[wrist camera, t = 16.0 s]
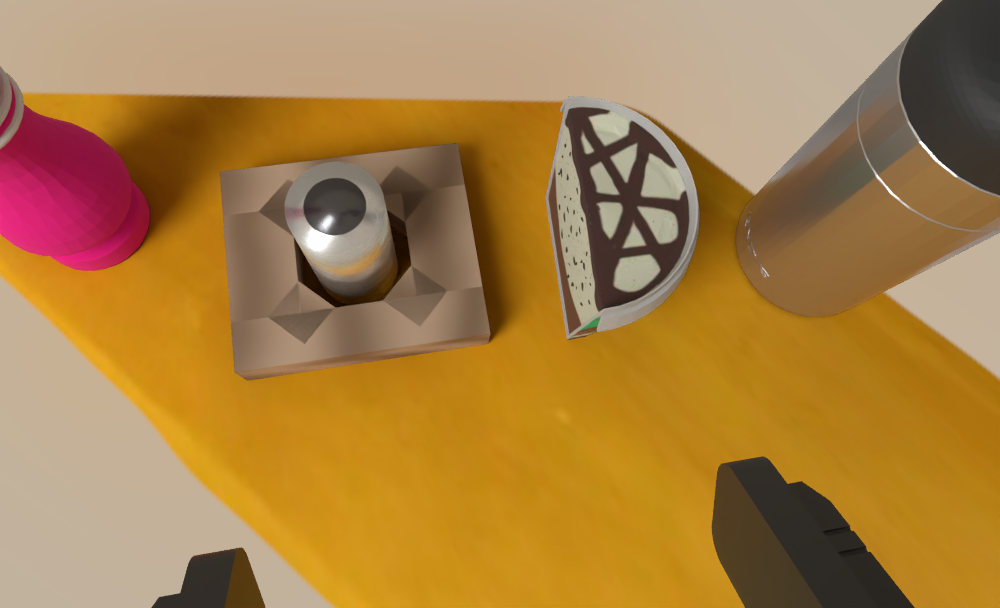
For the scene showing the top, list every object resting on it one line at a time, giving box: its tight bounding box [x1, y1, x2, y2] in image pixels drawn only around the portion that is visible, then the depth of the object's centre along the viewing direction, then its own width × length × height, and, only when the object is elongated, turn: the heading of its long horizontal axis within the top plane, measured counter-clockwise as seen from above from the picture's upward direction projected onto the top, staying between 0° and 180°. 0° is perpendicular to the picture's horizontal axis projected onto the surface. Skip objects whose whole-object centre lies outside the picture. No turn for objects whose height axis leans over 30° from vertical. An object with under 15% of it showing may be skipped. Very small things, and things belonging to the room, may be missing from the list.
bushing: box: [284, 162, 398, 305], centre depth 39 cm, size 5×5×9 cm
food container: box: [545, 97, 700, 340], centre depth 40 cm, size 12×6×10 cm, turn 7°
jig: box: [220, 143, 491, 381], centre depth 42 cm, size 14×12×2 cm
